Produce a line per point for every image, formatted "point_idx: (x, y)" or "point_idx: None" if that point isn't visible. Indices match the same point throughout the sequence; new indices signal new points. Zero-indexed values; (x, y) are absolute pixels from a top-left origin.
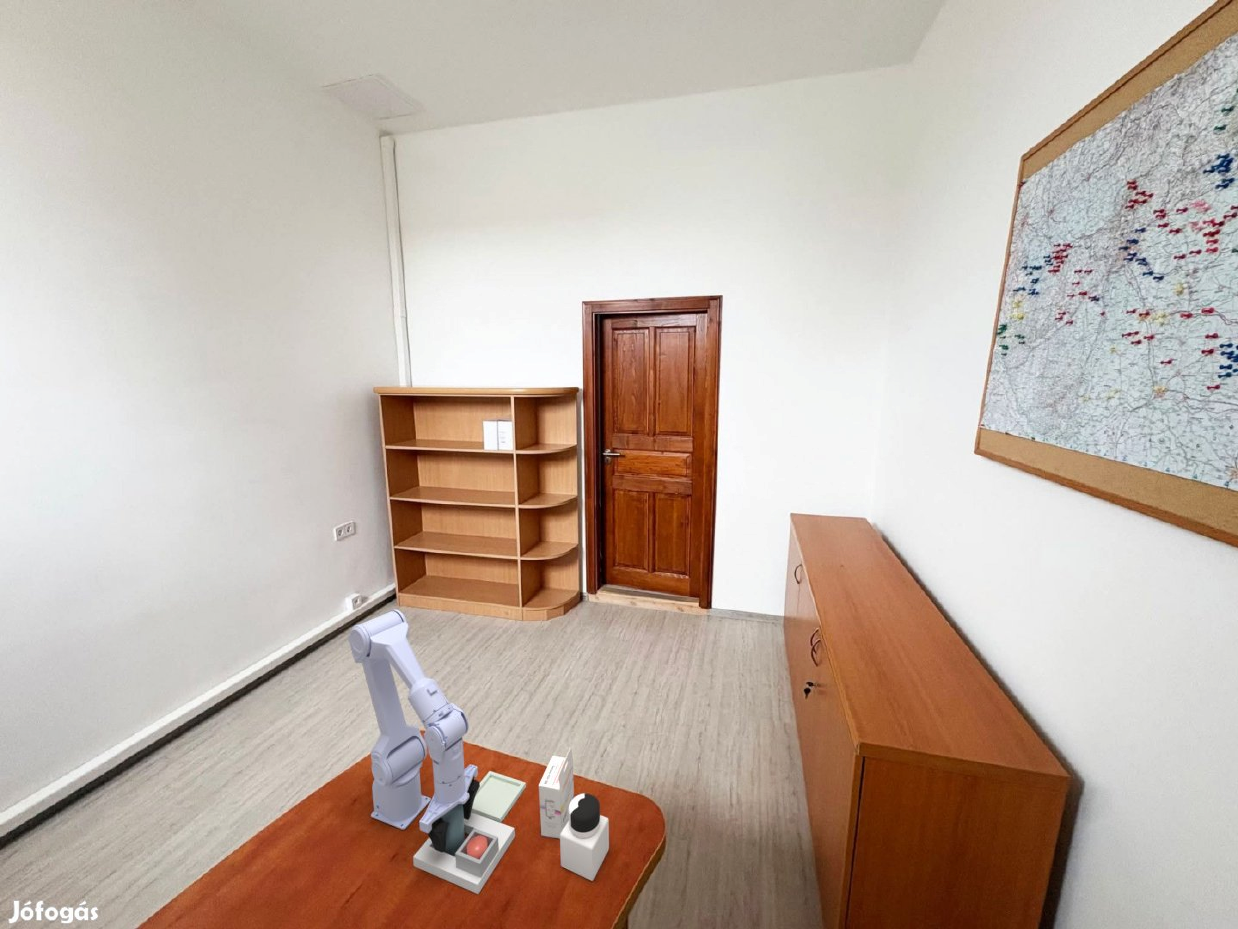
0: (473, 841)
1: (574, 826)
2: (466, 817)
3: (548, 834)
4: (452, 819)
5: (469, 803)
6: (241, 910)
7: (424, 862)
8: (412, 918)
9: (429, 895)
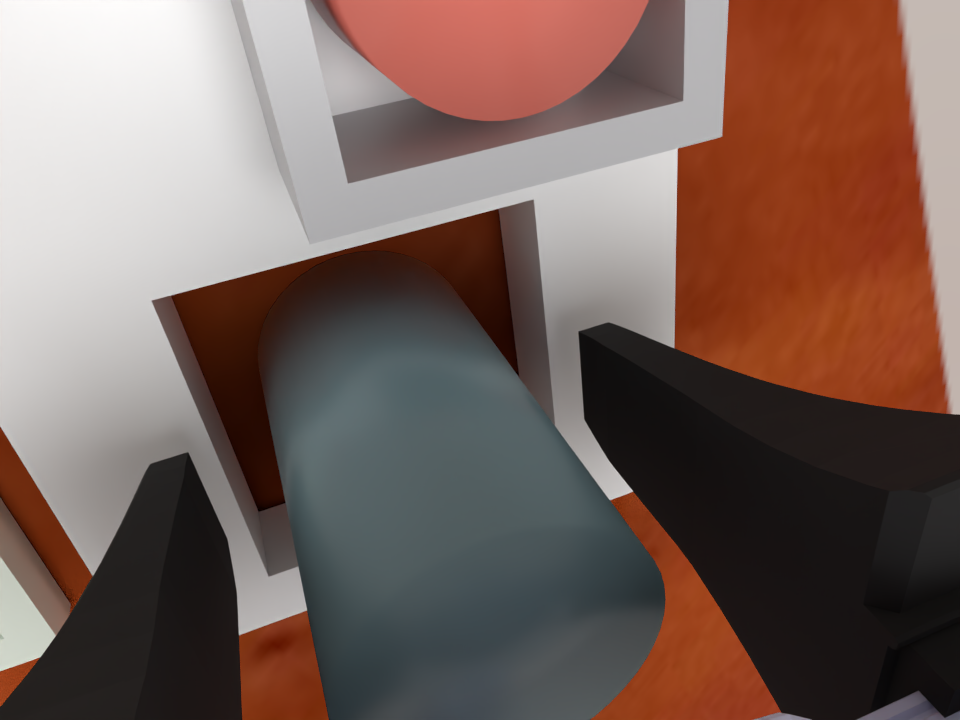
0: (489, 50)
1: None
2: (198, 489)
3: None
4: (612, 541)
5: (165, 628)
6: None
7: None
8: (906, 102)
9: (754, 142)
